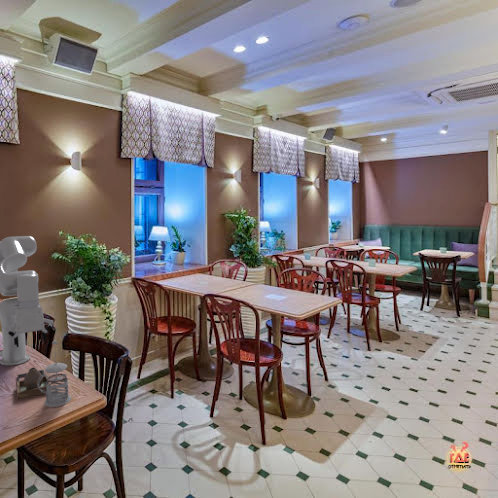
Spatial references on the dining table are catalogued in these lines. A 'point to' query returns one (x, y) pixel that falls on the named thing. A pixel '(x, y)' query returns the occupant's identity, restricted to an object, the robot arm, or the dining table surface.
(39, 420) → the dining table surface
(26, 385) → the vase
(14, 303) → the robot arm
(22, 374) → the trivet frame
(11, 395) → the dining table surface
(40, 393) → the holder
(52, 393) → the french press
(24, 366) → the dining table surface
